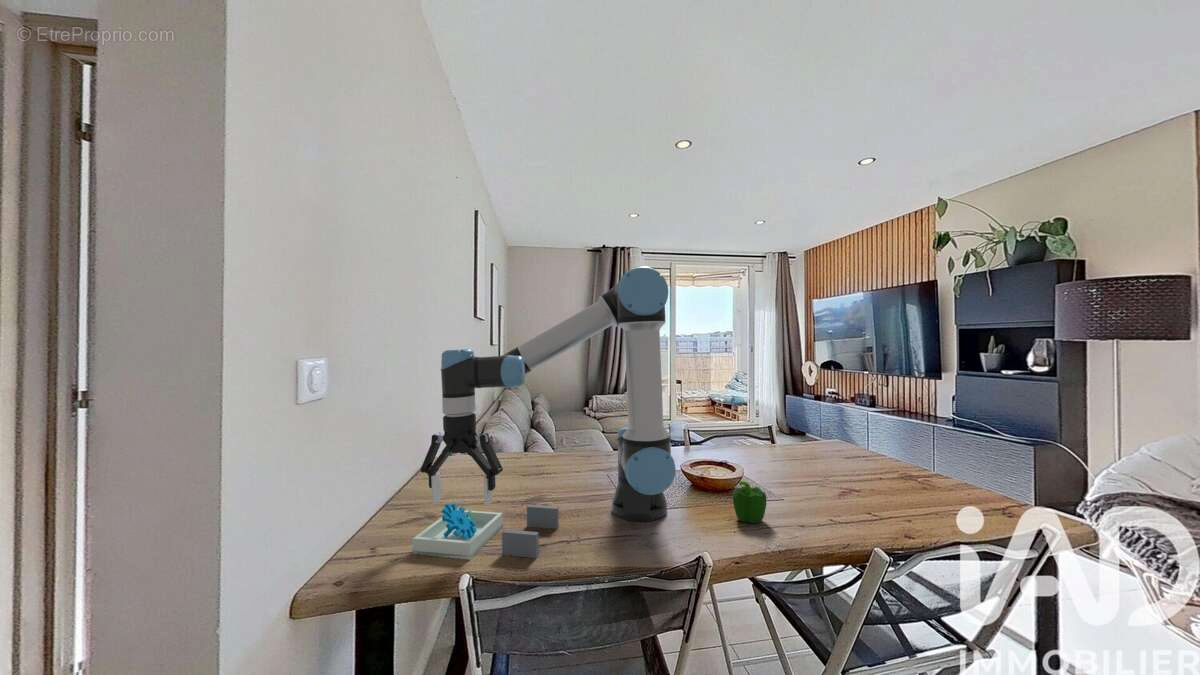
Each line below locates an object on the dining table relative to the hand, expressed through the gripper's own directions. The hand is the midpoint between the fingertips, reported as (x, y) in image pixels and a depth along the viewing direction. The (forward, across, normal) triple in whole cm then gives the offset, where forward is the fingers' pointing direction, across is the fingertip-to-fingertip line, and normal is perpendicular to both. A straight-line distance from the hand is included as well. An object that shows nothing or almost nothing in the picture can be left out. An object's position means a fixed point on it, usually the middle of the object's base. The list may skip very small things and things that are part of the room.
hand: (462, 502), depth 105 cm
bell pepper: (+11, -68, -24) cm, 73 cm away
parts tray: (+9, +1, 0) cm, 9 cm away
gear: (+8, +1, 0) cm, 8 cm away
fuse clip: (+9, -16, -3) cm, 19 cm away
